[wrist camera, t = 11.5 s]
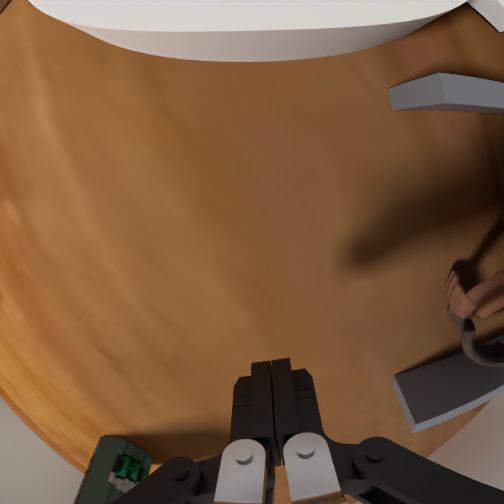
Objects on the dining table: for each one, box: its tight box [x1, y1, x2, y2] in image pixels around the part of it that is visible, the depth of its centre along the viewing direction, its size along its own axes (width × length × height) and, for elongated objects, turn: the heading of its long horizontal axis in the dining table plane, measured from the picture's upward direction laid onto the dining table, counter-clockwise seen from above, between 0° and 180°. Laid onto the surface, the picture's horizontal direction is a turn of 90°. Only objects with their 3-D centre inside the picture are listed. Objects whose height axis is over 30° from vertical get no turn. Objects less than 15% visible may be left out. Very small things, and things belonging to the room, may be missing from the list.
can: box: [73, 436, 152, 504], centre depth 18 cm, size 6×6×15 cm
